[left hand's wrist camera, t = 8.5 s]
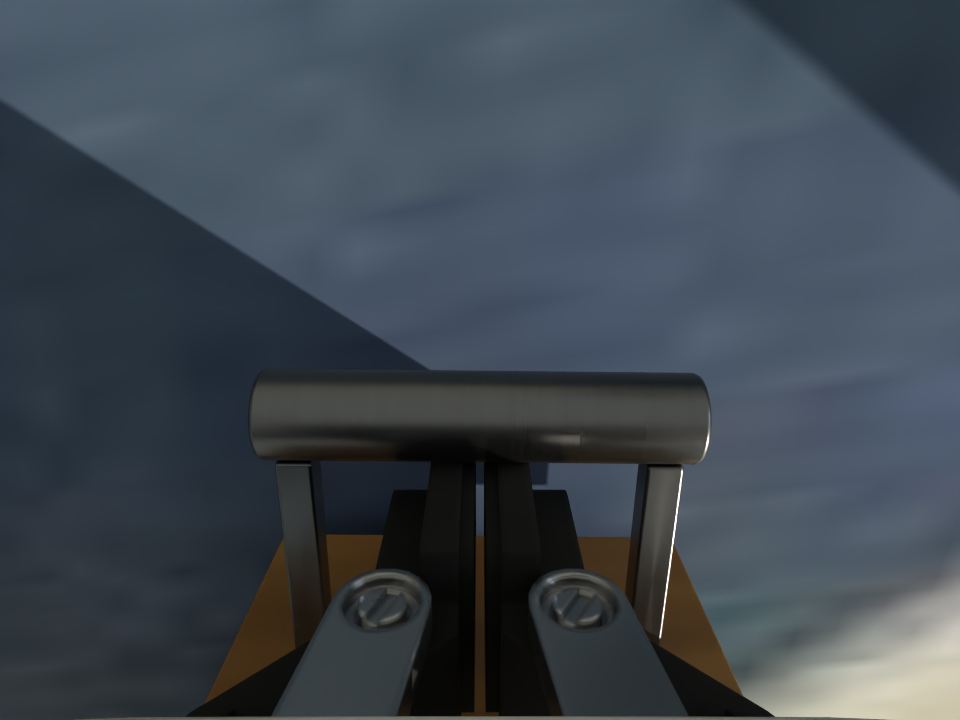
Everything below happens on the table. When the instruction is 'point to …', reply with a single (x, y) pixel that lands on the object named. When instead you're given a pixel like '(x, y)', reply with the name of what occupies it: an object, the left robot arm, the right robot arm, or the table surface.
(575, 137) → the table surface
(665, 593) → the drawer
